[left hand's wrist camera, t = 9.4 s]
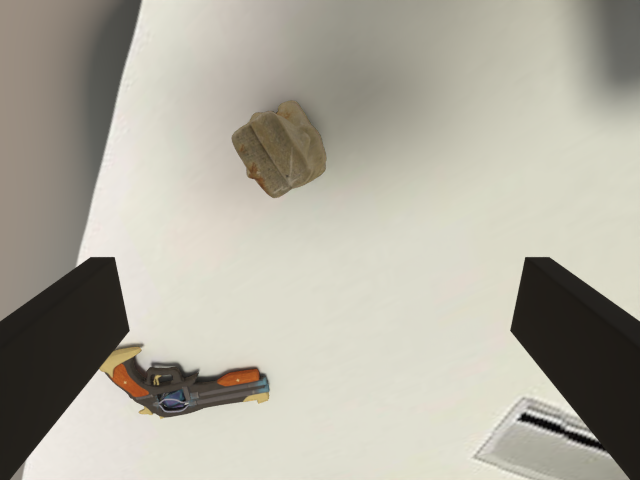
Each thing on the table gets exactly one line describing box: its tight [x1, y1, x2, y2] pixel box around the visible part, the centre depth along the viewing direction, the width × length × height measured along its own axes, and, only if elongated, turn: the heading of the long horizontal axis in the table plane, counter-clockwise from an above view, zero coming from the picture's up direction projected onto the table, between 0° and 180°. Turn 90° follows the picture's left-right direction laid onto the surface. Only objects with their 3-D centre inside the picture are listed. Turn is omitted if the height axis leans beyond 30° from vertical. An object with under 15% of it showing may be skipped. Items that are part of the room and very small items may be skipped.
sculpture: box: [232, 101, 326, 198], centre depth 31 cm, size 6×7×15 cm
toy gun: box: [99, 347, 269, 419], centre depth 47 cm, size 3×19×10 cm
